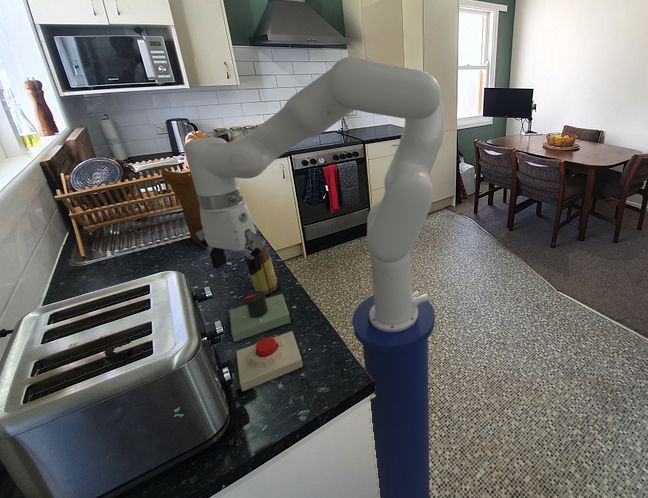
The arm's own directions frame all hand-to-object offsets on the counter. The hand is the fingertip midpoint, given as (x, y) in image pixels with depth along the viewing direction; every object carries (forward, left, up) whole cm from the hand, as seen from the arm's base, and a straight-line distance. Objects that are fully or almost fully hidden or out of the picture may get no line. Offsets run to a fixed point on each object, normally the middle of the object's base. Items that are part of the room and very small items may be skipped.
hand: (238, 268), depth 78 cm
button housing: (-2, +12, -18) cm, 22 cm away
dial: (-2, -4, -16) cm, 16 cm away
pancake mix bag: (+11, -60, -19) cm, 63 cm away
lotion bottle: (+18, +18, -19) cm, 32 cm away
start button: (-2, +12, -15) cm, 19 cm away
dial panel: (-2, -4, -18) cm, 19 cm away
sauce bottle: (-5, -17, -19) cm, 25 cm away
